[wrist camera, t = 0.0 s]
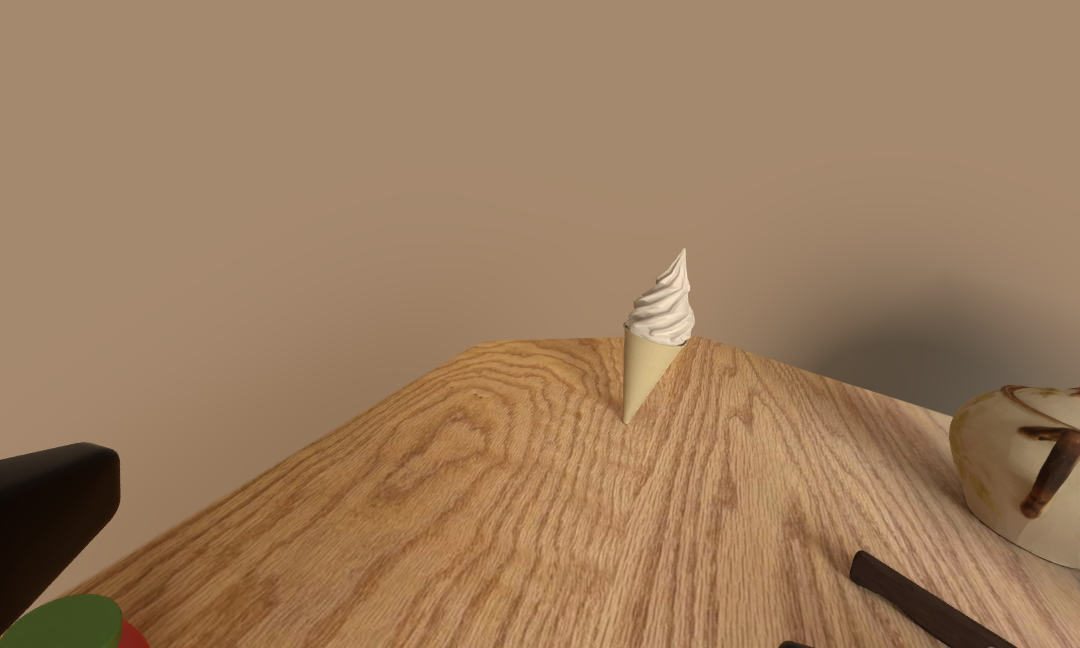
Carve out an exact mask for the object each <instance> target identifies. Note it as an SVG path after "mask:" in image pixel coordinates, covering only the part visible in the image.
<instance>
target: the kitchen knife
mask: <svg viewBox="0 0 1080 648" xmlns="http://www.w3.org/2000/svg"><path fill="white" fill-rule="evenodd" d="M850 579H851V580H852V581H853V582H854V583H856V584H858V585H860V586H862V587H865V588H867V589H869V590H871V591H873V592H875V593H877V594H879V595H881V596H882V597H884V598H886V599H887V600H889V601H890V602H892V603H893V604H894V605H896V606H897V607H898V608H900V609H901V610H902V611H903V612H904V613H906V614H907V615H908V616H909V617H911V618H912V619H913V620H914V621H916V622H917V623H918V624H919V625H920V626H922V627H923V628H924V629H926V630H927V631H928V632H930V633H931V634H932V635H934V636H935V637H937V638H938V639H939V640H941V641H942V642H944V643H945V644H946V645H948V646H950V647H951V648H1017V647H1016V646H1014V645H1012V644H1011V643H1009V642H1008V641H1006V640H1004V639H1003V638H1001V637H1000V636H998V635H996V634H995V633H993V632H992V631H990V630H989V629H987V628H985V627H984V626H982V625H981V624H979V623H977V622H976V621H974V620H973V619H971V618H969V617H968V616H966V615H965V614H963V613H962V612H960V611H958V610H957V609H955V608H954V607H952V606H950V605H949V604H947V603H946V602H944V601H942V600H941V599H939V598H938V597H936V596H935V595H933V594H931V593H930V592H928V591H927V590H925V589H923V588H922V587H920V586H919V585H917V584H915V583H914V582H912V581H911V580H909V579H908V578H906V577H904V576H903V575H901V574H900V573H898V572H897V571H895V570H894V569H892V568H890V567H889V566H887V565H886V564H884V563H883V562H881V561H879V560H878V559H876V558H875V557H873V556H872V555H870V554H868V553H867V552H865V551H862V550H861V551H858V552H857V553H856V554H855V556H854V559H853V563H852V567H851V570H850Z"/></svg>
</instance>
